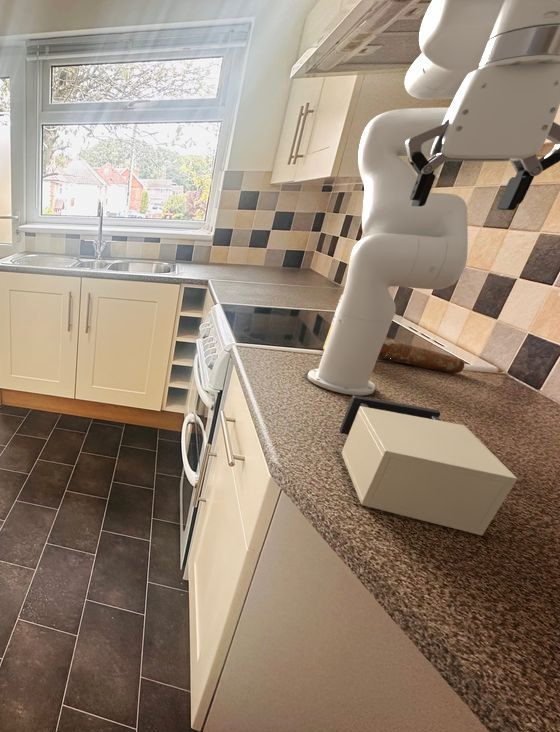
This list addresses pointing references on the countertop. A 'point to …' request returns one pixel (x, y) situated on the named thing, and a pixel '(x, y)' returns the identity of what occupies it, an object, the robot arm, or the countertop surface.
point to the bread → (419, 356)
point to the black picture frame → (385, 406)
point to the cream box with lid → (425, 470)
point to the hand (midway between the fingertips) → (459, 207)
